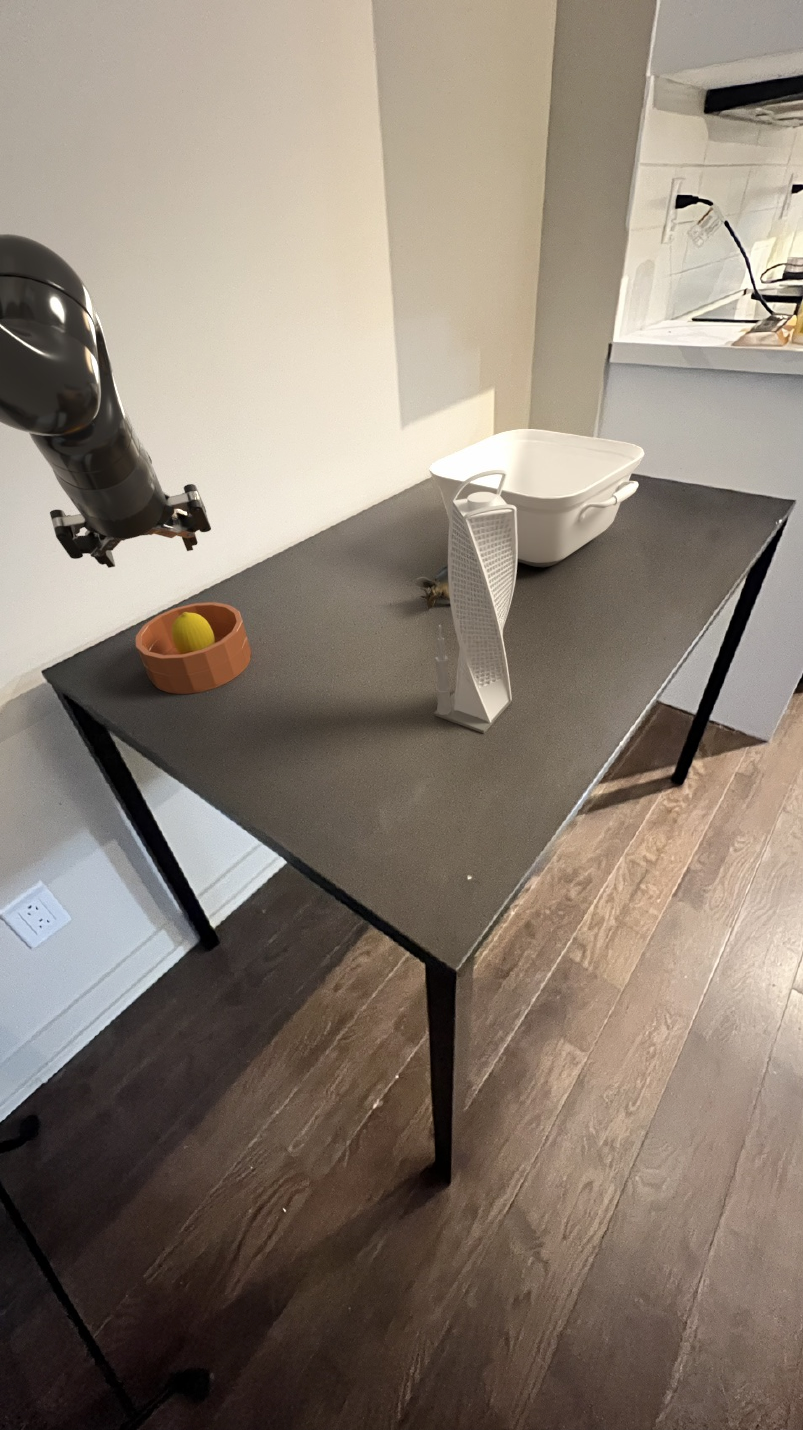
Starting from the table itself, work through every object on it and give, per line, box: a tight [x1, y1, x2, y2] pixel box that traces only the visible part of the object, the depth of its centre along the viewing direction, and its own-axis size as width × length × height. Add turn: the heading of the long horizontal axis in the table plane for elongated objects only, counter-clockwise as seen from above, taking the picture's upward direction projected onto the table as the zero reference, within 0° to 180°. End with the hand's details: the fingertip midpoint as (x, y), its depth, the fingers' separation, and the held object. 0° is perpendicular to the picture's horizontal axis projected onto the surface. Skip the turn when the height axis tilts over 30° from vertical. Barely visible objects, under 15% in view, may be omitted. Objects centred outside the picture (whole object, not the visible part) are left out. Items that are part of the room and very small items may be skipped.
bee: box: [414, 565, 450, 611], centre depth 97 cm, size 8×7×9 cm
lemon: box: [172, 612, 215, 654], centre depth 88 cm, size 6×6×8 cm
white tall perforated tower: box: [434, 470, 518, 734], centre depth 69 cm, size 8×8×28 cm
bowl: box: [135, 601, 252, 695], centre depth 89 cm, size 15×15×6 cm
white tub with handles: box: [428, 428, 645, 568], centre depth 108 cm, size 34×29×15 cm
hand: (149, 550), depth 70 cm, fingers open, 8 cm apart
